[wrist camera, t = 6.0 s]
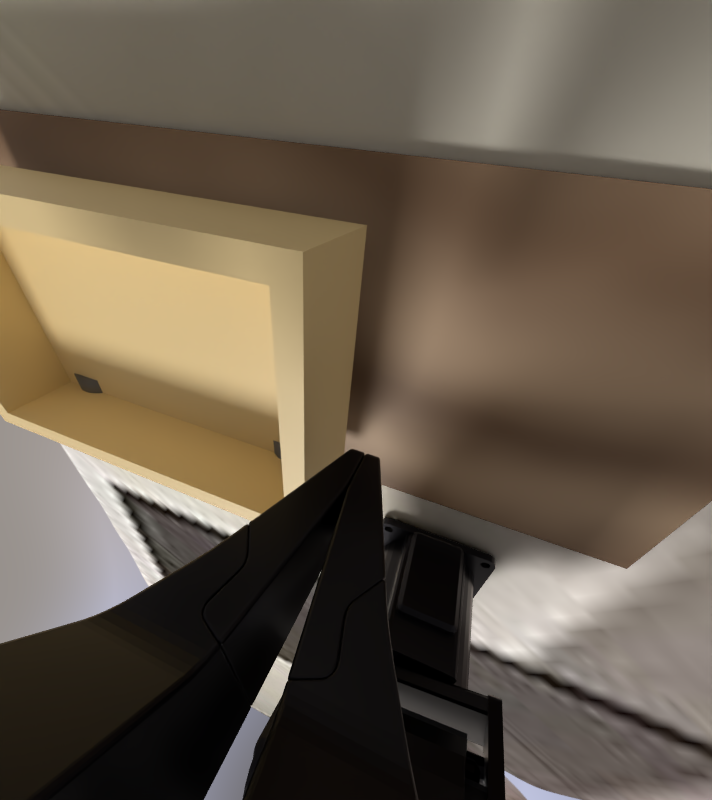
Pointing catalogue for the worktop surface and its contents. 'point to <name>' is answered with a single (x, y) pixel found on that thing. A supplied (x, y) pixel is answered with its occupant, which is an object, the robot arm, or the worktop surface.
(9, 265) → the wooden tray
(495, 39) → the worktop surface
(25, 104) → the worktop surface
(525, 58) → the worktop surface
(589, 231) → the brown board
